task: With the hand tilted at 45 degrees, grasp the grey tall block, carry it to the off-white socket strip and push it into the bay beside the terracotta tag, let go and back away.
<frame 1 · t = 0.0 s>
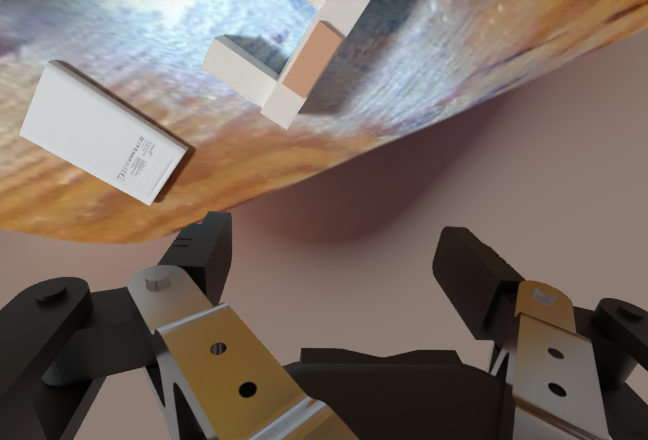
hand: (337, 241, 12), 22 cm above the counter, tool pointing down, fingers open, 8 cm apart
external hard drive: (113, 137, 32), on the counter
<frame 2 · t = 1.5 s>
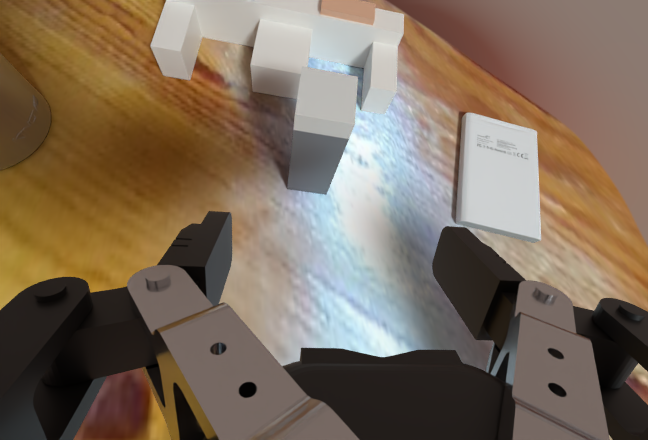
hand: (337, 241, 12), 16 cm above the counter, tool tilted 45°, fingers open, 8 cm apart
grey tall block: (308, 174, 30), on the counter
external hard drive: (491, 179, 34), on the counter
socket strip: (283, 64, 34), on the counter
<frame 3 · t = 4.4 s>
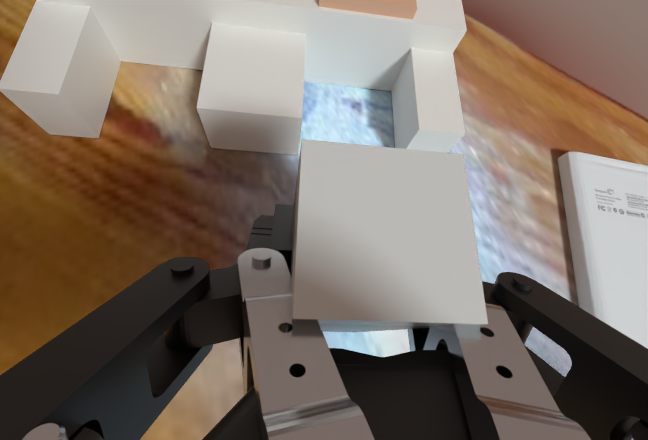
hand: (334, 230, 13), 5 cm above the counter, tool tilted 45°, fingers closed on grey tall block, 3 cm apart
grey tall block: (320, 294, 17), on the counter, touching gripper
external hard drive: (620, 259, 21), on the counter
socket strip: (260, 95, 20), on the counter
when the fingers open (5 cm above the counter, at t = 9.3 s): grey tall block stays where it is, on the counter.
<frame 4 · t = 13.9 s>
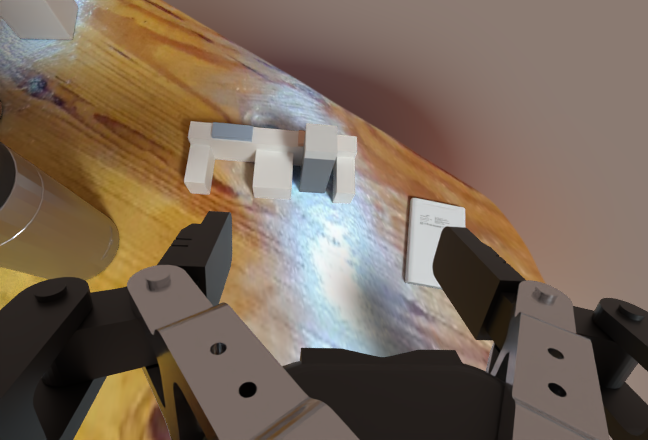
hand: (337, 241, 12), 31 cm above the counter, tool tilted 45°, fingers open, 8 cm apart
grey tall block: (312, 181, 47), on the counter
external hard drive: (433, 245, 47), on the counter
milk carton: (51, 24, 51), on the counter
socket strip: (274, 173, 47), on the counter
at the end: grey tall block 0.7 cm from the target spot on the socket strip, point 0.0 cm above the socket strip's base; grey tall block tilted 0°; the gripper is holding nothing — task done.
